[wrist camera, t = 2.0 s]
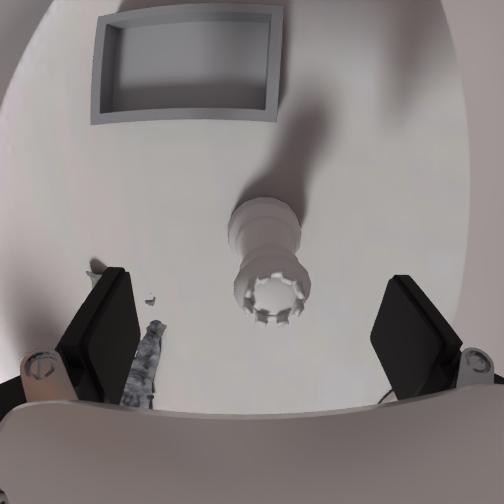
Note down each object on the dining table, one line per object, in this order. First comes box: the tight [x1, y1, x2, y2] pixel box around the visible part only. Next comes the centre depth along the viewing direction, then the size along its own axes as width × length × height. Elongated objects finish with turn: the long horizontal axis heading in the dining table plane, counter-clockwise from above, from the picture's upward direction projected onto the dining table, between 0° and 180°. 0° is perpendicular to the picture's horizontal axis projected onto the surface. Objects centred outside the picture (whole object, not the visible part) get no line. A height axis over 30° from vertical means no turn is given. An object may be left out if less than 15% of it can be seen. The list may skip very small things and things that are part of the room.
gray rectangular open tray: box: [91, 3, 284, 125], centre depth 14 cm, size 10×7×2 cm, turn 87°
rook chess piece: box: [228, 197, 311, 327], centre depth 16 cm, size 4×4×8 cm
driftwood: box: [86, 271, 167, 409], centre depth 24 cm, size 21×7×2 cm, turn 163°
